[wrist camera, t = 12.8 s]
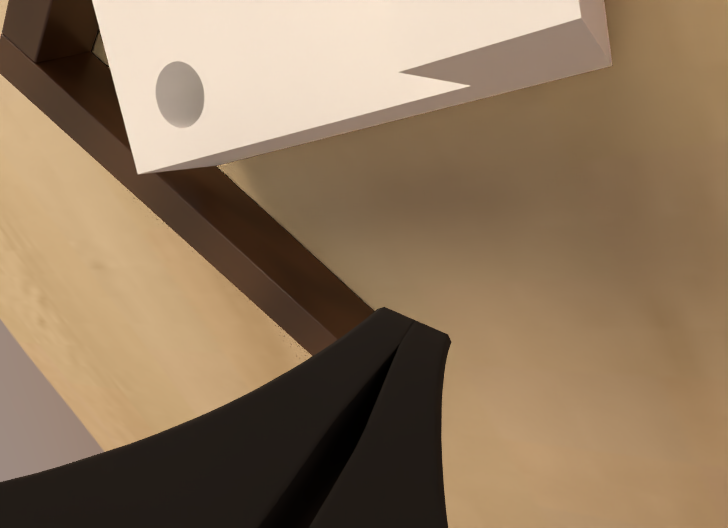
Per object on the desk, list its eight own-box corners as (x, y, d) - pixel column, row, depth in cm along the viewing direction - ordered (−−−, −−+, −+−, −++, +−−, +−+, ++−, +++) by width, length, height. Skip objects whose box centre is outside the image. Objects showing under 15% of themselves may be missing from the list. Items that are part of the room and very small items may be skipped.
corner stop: (787, 1, 13) (818, 14, 11) (371, 347, 22) (347, 388, 20) (230, -561, 12) (149, -663, 10) (51, 56, 22) (-8, 67, 20)
